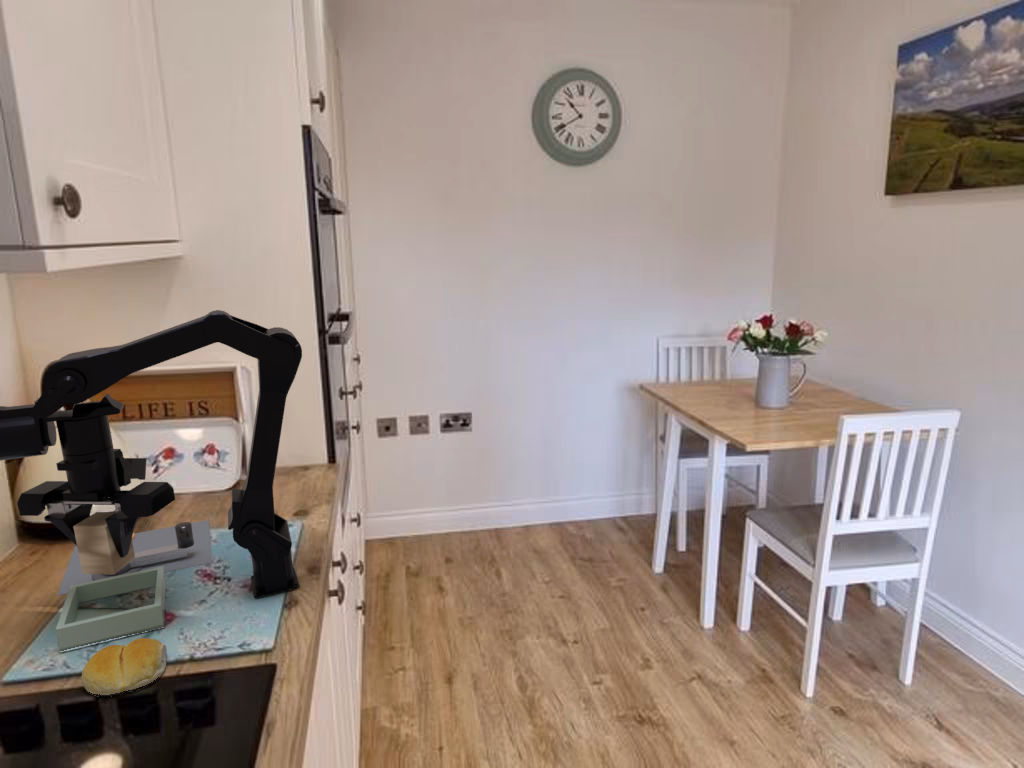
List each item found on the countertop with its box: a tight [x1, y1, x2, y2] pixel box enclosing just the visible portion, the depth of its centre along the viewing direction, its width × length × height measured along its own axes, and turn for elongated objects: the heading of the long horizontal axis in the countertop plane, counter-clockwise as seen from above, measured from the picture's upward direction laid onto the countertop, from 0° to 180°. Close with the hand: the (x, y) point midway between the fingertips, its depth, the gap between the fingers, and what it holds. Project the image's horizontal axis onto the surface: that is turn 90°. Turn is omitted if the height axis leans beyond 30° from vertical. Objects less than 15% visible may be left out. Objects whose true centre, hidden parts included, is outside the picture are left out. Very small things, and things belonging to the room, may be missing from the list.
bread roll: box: [81, 637, 168, 695], centre depth 80 cm, size 8×9×4 cm
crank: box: [104, 521, 194, 575], centre depth 105 cm, size 13×4×5 cm, turn 116°
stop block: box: [73, 511, 135, 574], centre depth 90 cm, size 4×4×7 cm
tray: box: [55, 566, 167, 652], centre depth 92 cm, size 12×12×4 cm
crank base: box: [56, 519, 213, 597], centre depth 109 cm, size 18×21×1 cm
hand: (107, 555), depth 91 cm, fingers closed on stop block, 4 cm apart
